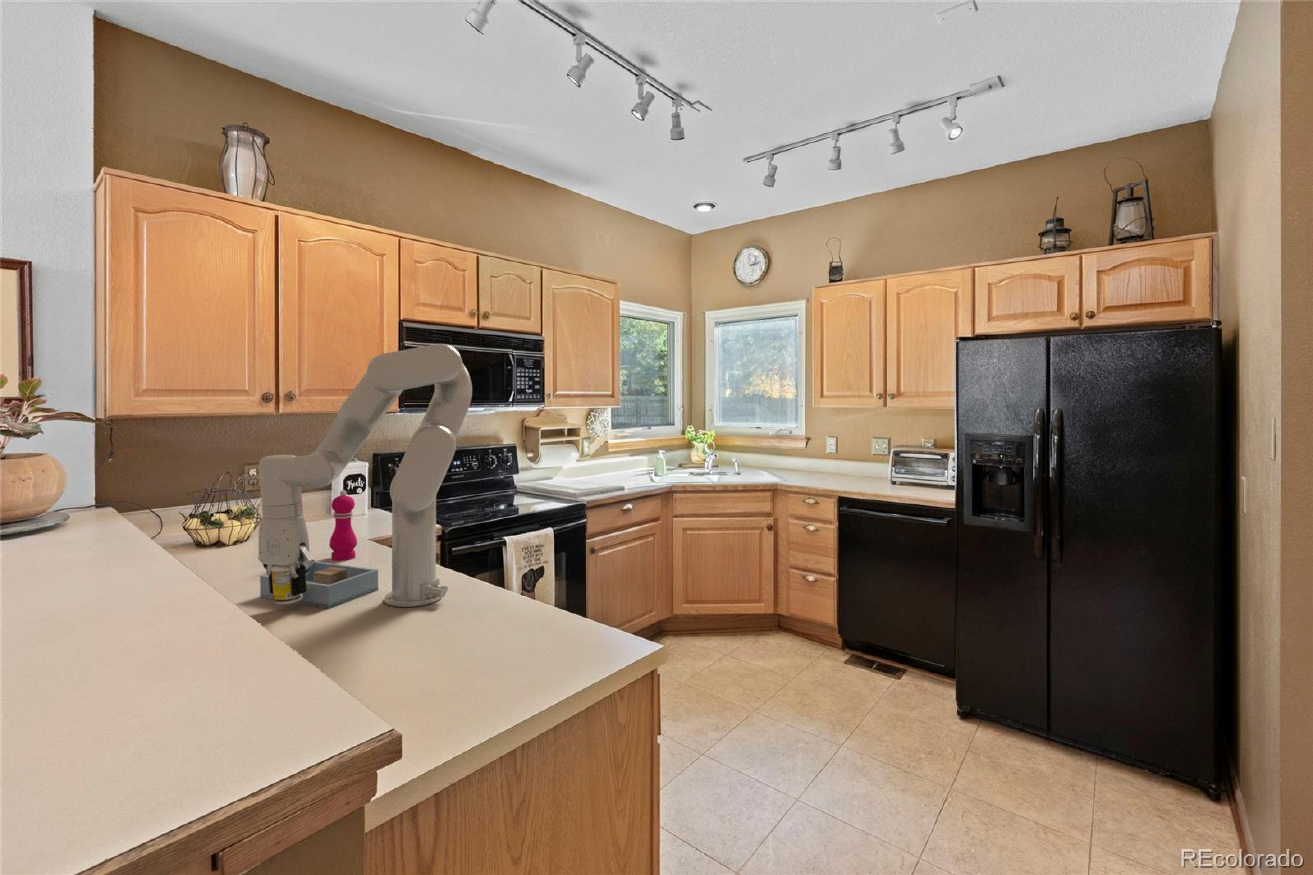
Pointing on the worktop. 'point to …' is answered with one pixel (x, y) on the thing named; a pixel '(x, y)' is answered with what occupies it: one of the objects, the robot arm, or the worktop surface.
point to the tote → (331, 586)
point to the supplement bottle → (283, 585)
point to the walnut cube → (329, 575)
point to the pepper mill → (343, 529)
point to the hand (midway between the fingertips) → (288, 591)
